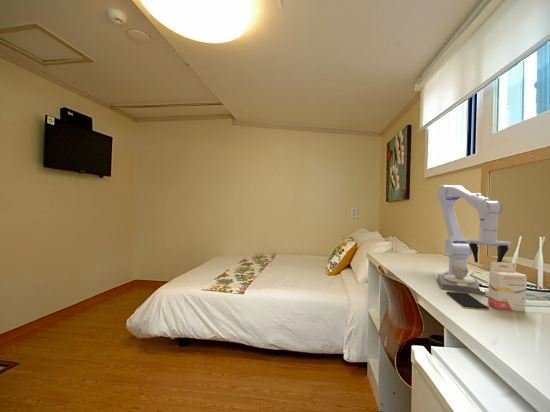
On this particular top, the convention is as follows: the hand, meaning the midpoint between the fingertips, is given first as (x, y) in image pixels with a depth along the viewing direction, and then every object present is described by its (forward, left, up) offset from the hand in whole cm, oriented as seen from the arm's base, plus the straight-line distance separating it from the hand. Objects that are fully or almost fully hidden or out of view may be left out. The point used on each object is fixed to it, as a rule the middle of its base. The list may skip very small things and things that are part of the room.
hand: (487, 263), depth 114 cm
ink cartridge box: (+25, 0, -10) cm, 27 cm away
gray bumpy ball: (+2, -10, -7) cm, 12 cm away
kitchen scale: (+4, -10, -10) cm, 15 cm away
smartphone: (+24, -11, -10) cm, 28 cm away
